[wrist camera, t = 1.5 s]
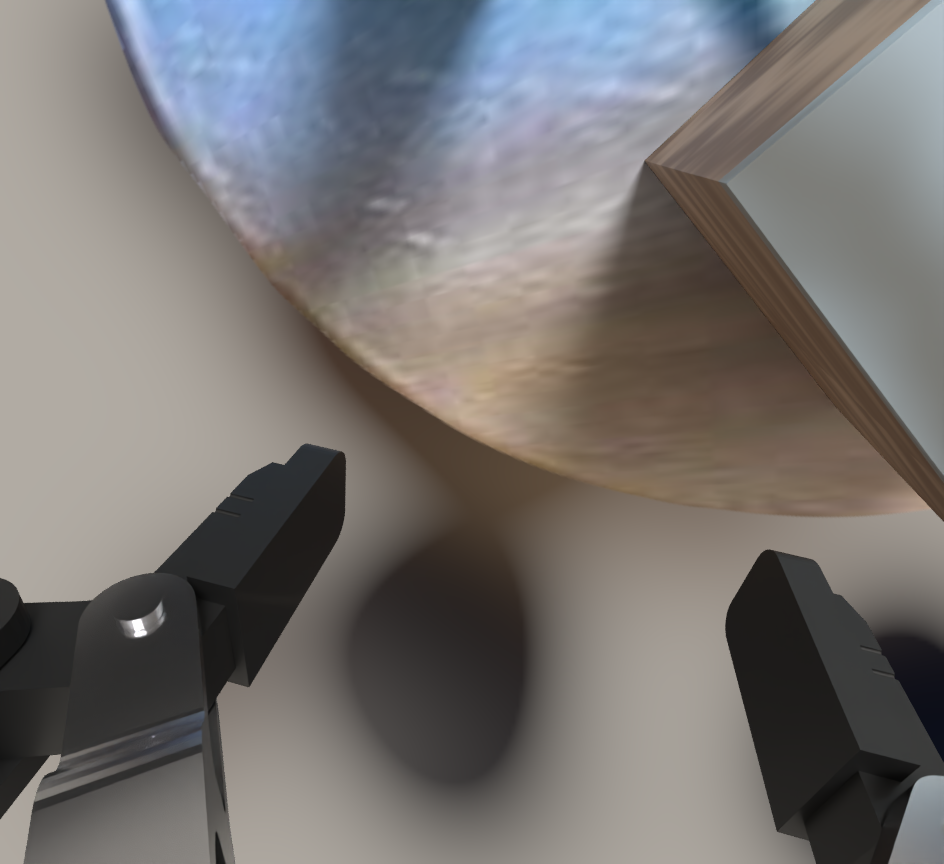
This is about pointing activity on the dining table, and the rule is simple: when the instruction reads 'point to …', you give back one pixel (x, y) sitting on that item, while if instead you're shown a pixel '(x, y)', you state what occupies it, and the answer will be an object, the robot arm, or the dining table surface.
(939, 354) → the block
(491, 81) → the dining table surface
